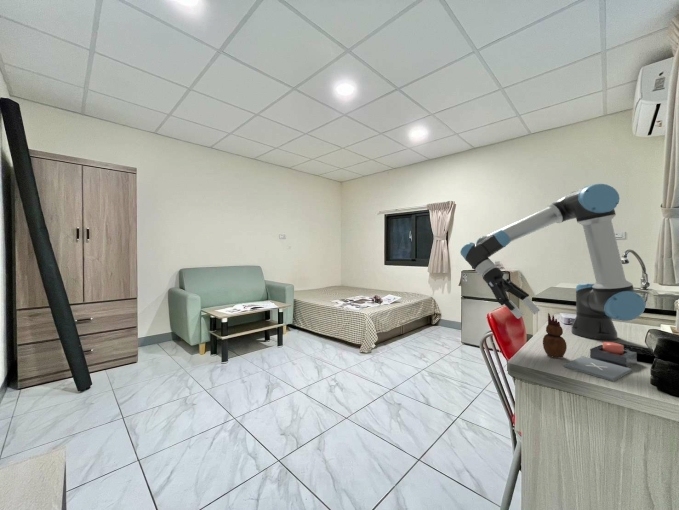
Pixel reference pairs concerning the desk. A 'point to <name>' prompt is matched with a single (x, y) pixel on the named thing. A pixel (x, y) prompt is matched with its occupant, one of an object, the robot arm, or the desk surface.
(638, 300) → the robot arm
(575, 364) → the slate board
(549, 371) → the desk surface
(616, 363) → the button housing
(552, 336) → the wooden figurine
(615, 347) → the button
